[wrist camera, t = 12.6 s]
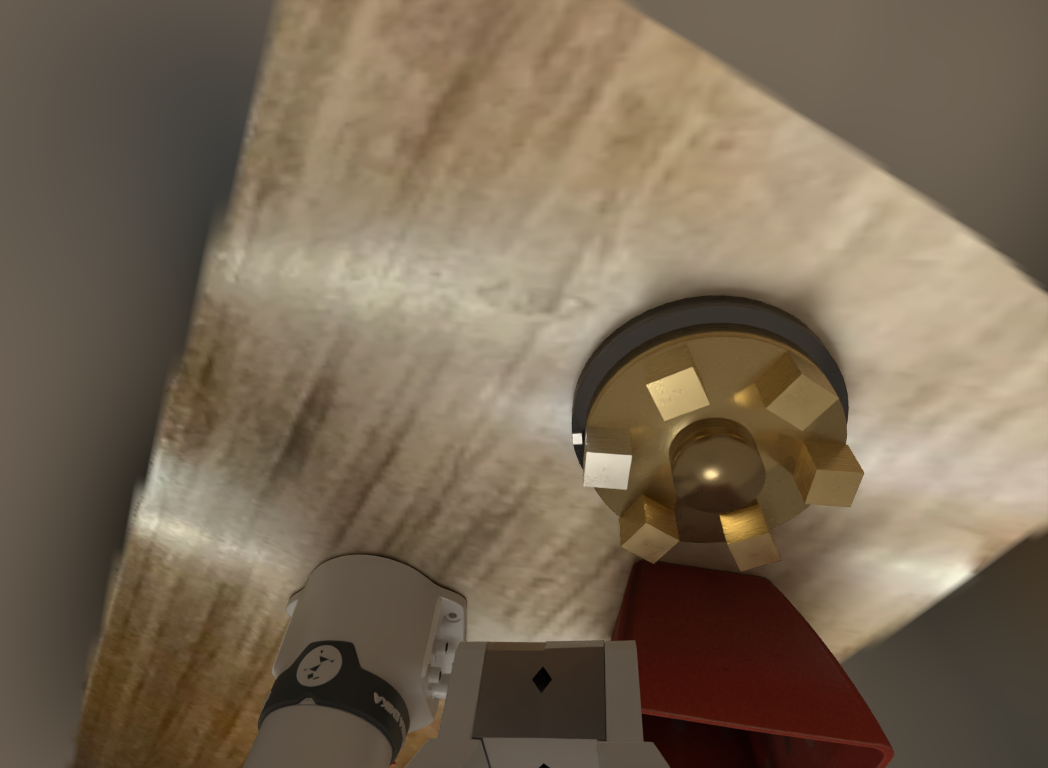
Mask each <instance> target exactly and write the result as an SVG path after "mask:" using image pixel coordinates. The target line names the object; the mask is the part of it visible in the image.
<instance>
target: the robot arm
mask: <svg viewBox="0 0 1048 768" xmlns="http://www.w3.org/2000/svg"><path fill="white" fill-rule="evenodd" d="M286 611H287V613H288V614H289V616H290V617H291V619H290V622H289V625H288V627H287V630H286V632H285V635H284V638H283V641H282V643H281V646H280V649H279V651H278V654H277V657H276V660H275V662H274V665H273V670H272V672H273V675H274V676H275V679H276V680H275V683H274V685H273V687H272V689H271V691H270V692H269V694H268V695H267V697H266V700H265V702H264V704H263V708H262V712H261V715H260V717H259V721H258V730H259V732H258V734H257V736H256V739H255V741H254V743H253V745H252V747H251V750H250V752H249V754H248V756H247V758H246V761H245V763H244V765H243V767H242V768H389V767H390V766H394V765H396V762H395V759H396V757H397V755H398V753H399V751H400V750H401V749H402V747H403V745H404V742H405V739H406V735H407V734H408V733H410V732H413V731H416V730H419V729H421V728H424V727H426V726H427V725H429V724H430V723H431V722H432V721H433V720H434V718H435V715H436V712H437V708H438V704H439V699H446V700H445V705H444V709H443V714H442V719H441V724H440V729H439V734H438V738H429V739H428V740H427V741H426V743H425V744H424V745H423V746H422V747H421V749H420V750H419V751H418V752H417V753H416V755H415V756H414V757H413V758H412V759H411V761H410V762H409V763H408V764H407V765H406V767H405V768H670V767H669V765H668V764H667V762H666V761H665V759H664V758H663V756H662V755H661V753H660V752H659V750H658V749H657V747H656V746H655V745H654V743H653V742H643V728H642V715H641V701H640V688H639V674H638V661H637V647H636V642H635V640H631V641H605V642H604V640H586V641H546V642H466V600H465V599H464V598H463V597H462V596H460V595H459V594H457V593H454V592H452V591H449V590H447V589H444V588H441V587H439V586H437V585H436V584H434V583H433V582H431V581H430V580H429V579H428V578H426V577H425V576H424V575H422V574H421V573H419V572H418V571H416V570H415V569H413V568H411V567H409V566H407V565H405V564H402V563H400V562H397V561H394V560H391V559H388V558H384V557H379V556H372V555H347V556H341V557H337V558H334V559H331V560H329V561H327V562H325V563H323V564H321V565H320V566H318V567H317V568H316V569H315V570H314V571H313V572H312V574H311V575H310V577H309V579H308V581H307V583H306V585H305V587H304V588H303V590H301V591H299V592H298V593H296V594H295V595H293V596H292V597H291V598H290V599H289V602H288V604H287V607H286Z"/></svg>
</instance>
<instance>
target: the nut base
mask: <svg viewBox="0 0 1048 768" xmlns="http://www.w3.org/2000/svg"><path fill="white" fill-rule="evenodd" d="M706 323H736V324H744V325H750V326H754V327H758V328H762V329H766V330H768V331H771V332H774V333H776V334H779V335H781V336H783V337H785V338H786V339H788V340H790V341H792V342H794V343H795V344H796V345H798V346H799V347H800V348H802V349H803V350H804V351H805V352H807V353H808V354H809V355H810V356H811V357H812V359H813V360H814V361H815V362H816V363H817V364H818V365H819V367H820V368H821V370H822V371H823V373H824V374H825V376H826V378H827V379H828V381H829V382H830V384H831V385H832V387H833V389H834V390H835V392H836V393H837V395H838V397H839V400H840V402H841V404H842V406H843V410H844V414H845V418H846V426H847V421H848V409H849V406H848V395H847V390H846V386H845V382H844V379H843V376H842V374H841V372H840V370H839V368H838V366H837V364H836V362H835V361H834V359H833V358H832V356H831V355H830V353H829V352H828V351H827V349H826V348H825V346H824V345H823V343H822V342H821V341H820V339H819V338H818V337H817V336H816V335H815V334H814V333H813V332H812V331H811V330H810V329H809V328H808V327H807V326H806V325H805V324H804V323H802V322H801V321H800V320H798V319H797V318H795V317H794V316H793V315H791V314H789V313H787V312H785V311H783V310H781V309H779V308H777V307H775V306H772V305H769V304H766V303H764V302H761V301H757V300H752V299H748V298H743V297H733V296H701V297H694V298H686V299H682V300H678V301H674V302H670V303H666V304H664V305H661V306H659V307H656V308H653V309H651V310H648V311H646V312H644V313H643V314H641V315H639V316H637V317H635V318H633V319H631V320H630V321H628V322H627V323H626V324H624V325H623V326H621V327H620V328H618V329H617V330H616V331H615V332H614V333H612V334H611V335H610V336H609V337H608V338H607V339H606V340H605V341H604V342H603V343H602V344H601V345H600V346H599V347H598V349H597V350H596V351H595V352H594V353H593V355H592V356H591V358H590V359H589V361H588V362H587V364H586V365H585V367H584V369H583V371H582V373H581V376H580V378H579V380H578V383H577V386H576V390H575V393H574V399H573V407H572V438H573V444H574V449H575V452H576V455H577V458H578V460H579V463H580V465H581V467H582V469H583V459H584V448H585V421H586V415H587V410H588V407H589V404H590V401H591V398H592V396H593V394H594V392H595V390H596V388H597V386H598V385H599V383H600V382H601V380H602V379H603V378H604V376H605V375H606V373H607V372H608V371H609V370H610V369H611V368H612V367H613V366H614V365H615V364H616V363H617V362H618V361H619V360H620V359H621V358H622V357H624V356H625V355H626V354H627V353H629V352H630V351H631V350H633V349H634V348H636V347H638V346H639V345H641V344H642V343H644V342H646V341H648V340H650V339H652V338H654V337H656V336H658V335H660V334H663V333H666V332H669V331H672V330H675V329H678V328H683V327H687V326H691V325H697V324H706Z"/></svg>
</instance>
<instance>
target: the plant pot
mask: <svg viewBox="0 0 1048 768" xmlns="http://www.w3.org/2000/svg"><path fill="white" fill-rule="evenodd" d="M631 640H635V642H636V647H637V661H638V674H639V688H640V701H641V715H642V728H643V742H653V743H654V745H655V746H656V747H657V749H658V750H659V752H660V753H661V755H662V756H663V758H664V759H665V761H666V762H667V764H668V765H669V767H670V768H885V767H886V766H887V765H888V763H889V762H890V761H891V759H892V758H893V756H894V751H893V749H892V747H891V744H890V743H889V741H888V739H887V737H886V736H885V734H884V732H883V731H882V729H881V727H880V725H879V723H878V722H877V720H876V718H875V717H874V715H873V714H872V712H871V710H870V709H869V707H868V705H867V704H866V702H865V701H864V699H863V698H862V696H861V695H860V693H859V692H858V690H857V688H856V687H855V685H854V684H853V683H852V681H851V680H850V678H849V677H848V675H847V674H846V672H845V671H844V669H843V668H842V667H841V665H840V664H839V662H838V661H837V660H836V658H835V657H834V655H833V654H832V653H831V651H830V650H829V649H828V647H827V646H826V645H825V644H824V642H823V641H822V640H821V638H820V637H819V636H818V635H817V633H816V632H815V631H814V630H813V628H812V627H811V626H810V625H809V623H808V622H807V621H806V620H805V619H804V618H803V616H802V615H801V614H800V613H799V612H798V611H797V610H796V608H795V607H794V606H793V605H792V604H791V603H790V602H789V600H788V599H787V598H786V597H785V596H784V595H783V594H782V593H781V592H780V591H779V590H778V589H777V588H776V587H775V586H774V585H773V584H772V583H771V582H770V581H769V580H768V579H766V578H762V577H756V576H750V575H743V574H736V573H729V572H722V571H716V570H709V569H702V568H695V567H688V566H682V565H675V564H668V563H661V562H655V563H654V564H653V563H651V562H649V561H647V560H643V561H639V562H637V563H636V564H634V566H633V568H632V570H631V573H630V576H629V579H628V583H627V586H626V590H625V594H624V598H623V602H622V605H621V609H620V612H619V615H618V619H617V622H616V625H615V629H614V632H613V635H612V639H611V641H631Z"/></svg>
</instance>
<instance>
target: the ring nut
mask: <svg viewBox="0 0 1048 768" xmlns="http://www.w3.org/2000/svg"><path fill="white" fill-rule="evenodd" d="M846 439H847V426H846V418H845V414H844V410H843V406H842V404H841V402H840V400H839V397H838V395H837V393H836V392H835V390H834V389H833V387H832V385H831V384H830V382H829V381H828V379H827V378H826V376H825V374H824V373H823V371H822V370H821V368H820V367H819V365H818V364H817V363H816V362H815V361H814V360H813V359H812V357H811V356H810V355H809V354H808V353H807V352H805V351H804V350H803V349H802V348H800V347H799V346H798V345H796V344H795V343H794V342H792V341H790V340H788V339H786V338H785V337H783V336H781V335H779V334H776V333H774V332H771V331H768V330H766V329H762V328H758V327H754V326H750V325H744V324H736V323H706V324H697V325H691V326H687V327H683V328H678V329H675V330H672V331H669V332H666V333H663V334H660V335H658V336H656V337H654V338H652V339H650V340H648V341H646V342H644V343H642V344H641V345H639V346H638V347H636V348H634V349H633V350H631V351H630V352H629V353H627V354H626V355H625V356H624V357H622V358H621V359H620V360H619V361H618V362H617V363H616V364H615V365H614V366H613V367H612V368H611V369H610V370H609V371H608V372H607V373H606V375H605V376H604V378H603V379H602V380H601V382H600V383H599V385H598V386H597V388H596V390H595V392H594V394H593V396H592V398H591V401H590V404H589V407H588V410H587V415H586V421H585V448H584V459H583V486H586V487H594V488H595V490H596V492H597V493H598V494H599V496H600V497H601V499H602V500H603V501H604V502H605V503H606V505H607V506H608V507H609V508H610V509H611V510H612V511H613V512H615V513H616V514H617V515H618V516H620V518H619V525H620V541H621V547H622V548H624V549H626V550H628V551H630V552H632V553H633V554H635V555H637V556H639V557H641V558H643V559H645V560H647V561H649V562H651V563H653V564H654V563H655V562H656V561H658V560H659V559H660V558H661V557H662V556H663V555H664V554H665V553H667V552H668V551H669V550H670V549H671V548H672V547H673V546H674V545H675V544H677V543H678V542H679V541H685V542H698V543H710V542H724V541H726V542H727V545H728V547H729V549H730V551H731V553H732V555H733V557H734V559H735V561H736V563H737V565H738V567H739V569H740V571H744V570H748V569H752V568H755V567H759V566H763V565H766V564H770V563H774V562H777V561H781V558H780V555H779V552H778V549H777V546H776V543H775V540H774V537H773V534H772V531H771V529H772V528H774V527H776V526H779V525H781V524H783V523H784V522H786V521H788V520H790V519H791V518H793V517H795V516H796V515H798V514H799V513H800V512H802V511H803V510H804V509H806V508H807V507H808V506H809V505H810V504H815V505H828V506H840V507H851V504H852V502H853V499H854V497H855V494H856V492H857V490H858V487H859V485H860V482H861V480H862V477H863V475H864V472H863V470H862V468H861V466H860V465H859V463H858V461H857V460H856V458H855V456H854V454H853V453H852V451H851V449H850V448H849V446H848V445H846Z"/></svg>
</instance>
